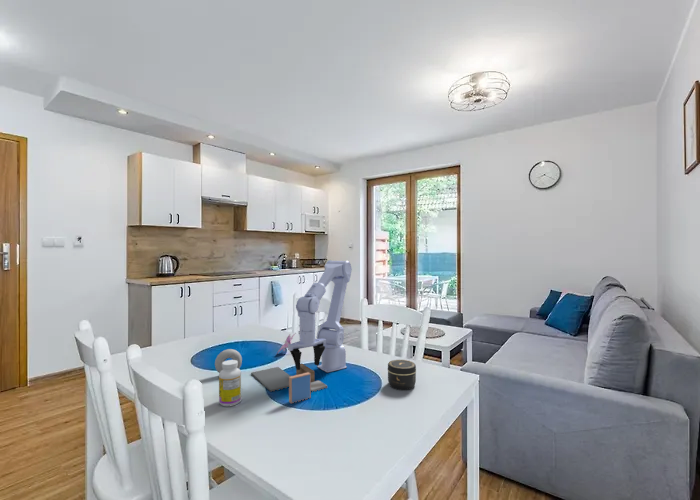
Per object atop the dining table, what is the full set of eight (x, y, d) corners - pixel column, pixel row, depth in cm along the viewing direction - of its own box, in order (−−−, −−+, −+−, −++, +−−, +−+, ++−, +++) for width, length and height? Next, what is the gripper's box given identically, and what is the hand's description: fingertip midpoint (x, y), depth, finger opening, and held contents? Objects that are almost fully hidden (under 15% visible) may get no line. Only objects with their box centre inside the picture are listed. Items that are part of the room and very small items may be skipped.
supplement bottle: (222, 398, 113) (222, 358, 113) (243, 397, 113) (243, 358, 113) (216, 407, 106) (216, 366, 106) (238, 406, 107) (238, 365, 106)
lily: (296, 350, 168) (286, 333, 168) (309, 345, 160) (299, 327, 160) (277, 364, 159) (267, 346, 159) (290, 360, 151) (280, 340, 151)
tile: (308, 396, 114) (308, 372, 114) (310, 398, 113) (310, 373, 113) (289, 401, 110) (288, 376, 110) (291, 403, 109) (291, 378, 109)
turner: (291, 377, 130) (291, 365, 130) (306, 374, 134) (306, 362, 134) (312, 392, 117) (312, 379, 117) (327, 388, 121) (327, 375, 121)
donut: (215, 379, 129) (215, 352, 129) (214, 376, 132) (214, 349, 132) (243, 374, 134) (242, 348, 134) (241, 371, 137) (240, 346, 137)
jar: (384, 388, 120) (384, 366, 120) (391, 378, 129) (391, 357, 129) (413, 392, 116) (413, 370, 116) (418, 381, 126) (418, 360, 126)
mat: (278, 368, 140) (278, 366, 140) (300, 384, 124) (300, 382, 124) (251, 374, 134) (251, 372, 134) (270, 391, 117) (270, 390, 117)
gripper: (319, 325, 133) (319, 360, 134) (284, 330, 125) (284, 367, 125) (328, 328, 128) (328, 365, 128) (292, 334, 119) (292, 373, 120)
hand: (307, 366), depth 126 cm, fingers open, 7 cm apart
